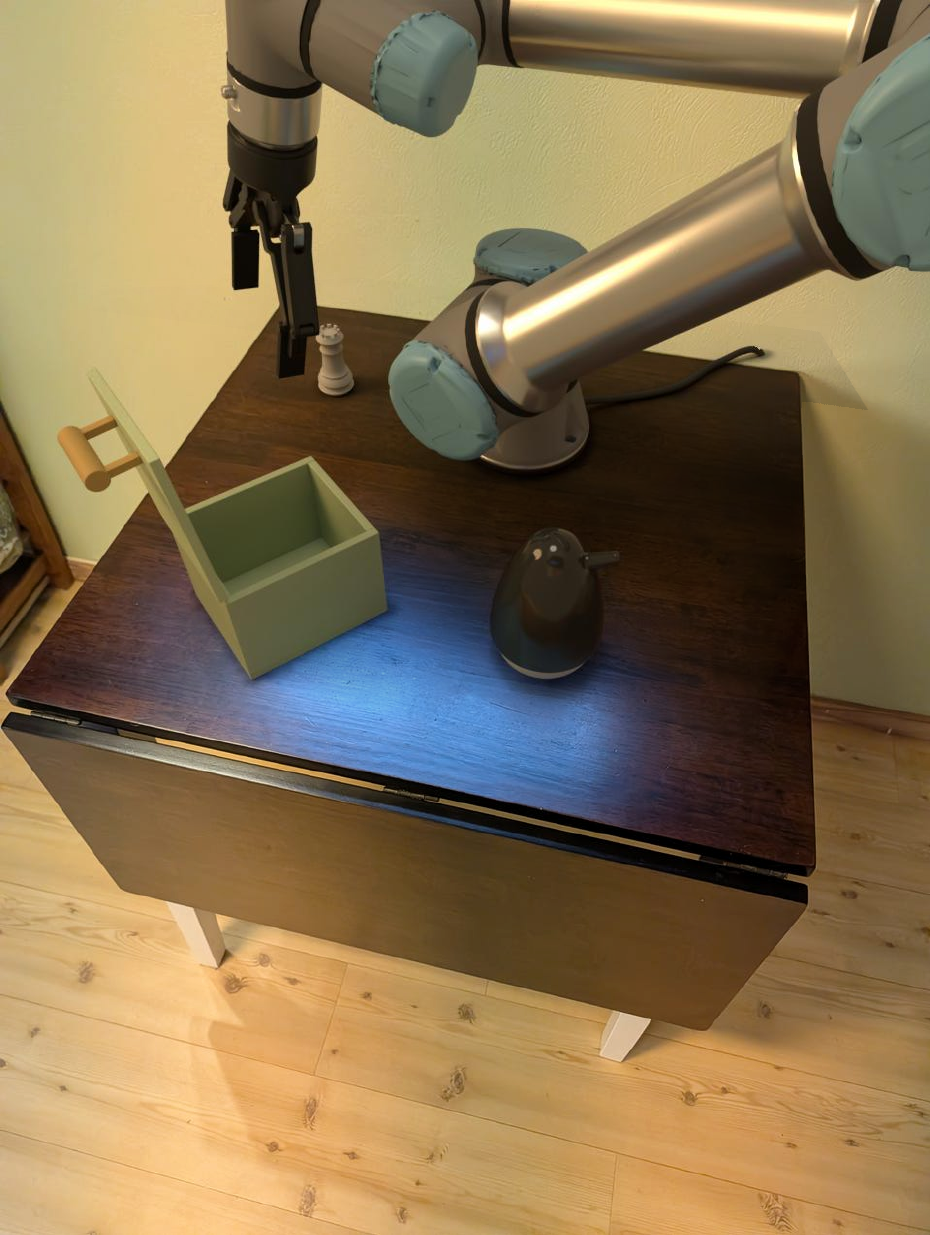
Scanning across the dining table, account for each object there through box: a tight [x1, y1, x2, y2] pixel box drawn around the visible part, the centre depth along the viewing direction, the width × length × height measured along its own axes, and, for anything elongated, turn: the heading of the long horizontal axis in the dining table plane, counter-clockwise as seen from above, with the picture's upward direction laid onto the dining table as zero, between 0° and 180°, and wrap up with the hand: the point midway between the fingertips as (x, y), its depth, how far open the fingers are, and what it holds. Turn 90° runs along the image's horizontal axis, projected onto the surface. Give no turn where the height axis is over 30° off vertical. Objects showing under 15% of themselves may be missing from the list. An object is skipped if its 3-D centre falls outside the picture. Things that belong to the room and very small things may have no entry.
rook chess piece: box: [315, 323, 355, 397], centre depth 102 cm, size 4×4×8 cm
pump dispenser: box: [489, 526, 621, 680], centre depth 73 cm, size 10×10×15 cm
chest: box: [171, 455, 388, 681], centre depth 79 cm, size 15×13×11 cm
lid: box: [56, 366, 228, 603], centre depth 65 cm, size 16×13×5 cm
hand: (267, 329), depth 88 cm, fingers open, 13 cm apart
